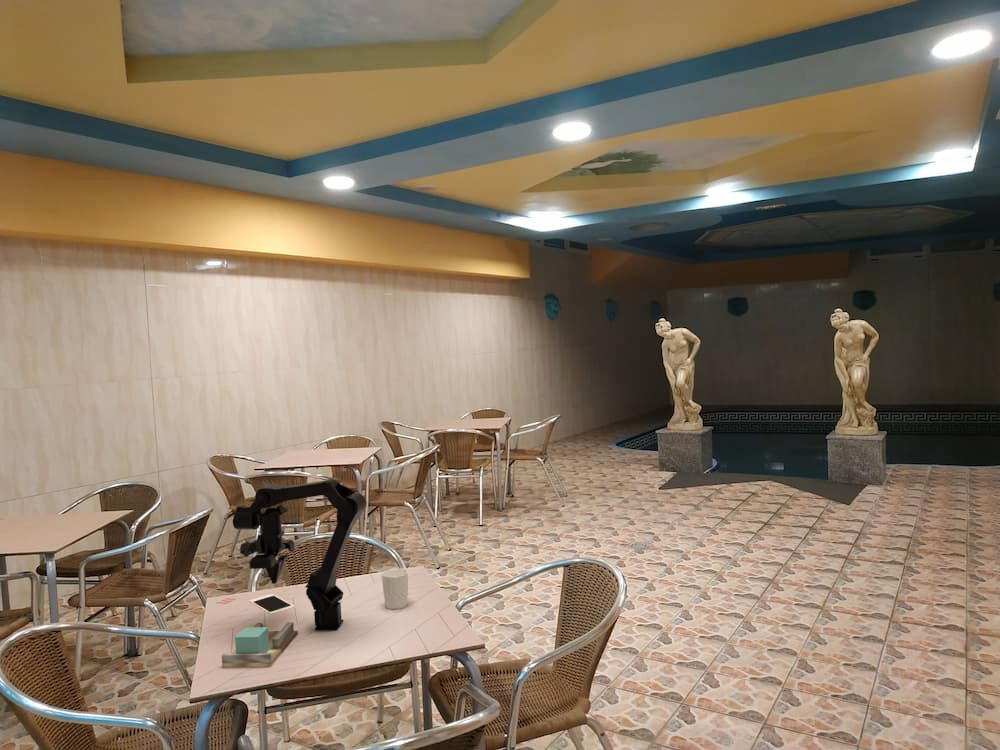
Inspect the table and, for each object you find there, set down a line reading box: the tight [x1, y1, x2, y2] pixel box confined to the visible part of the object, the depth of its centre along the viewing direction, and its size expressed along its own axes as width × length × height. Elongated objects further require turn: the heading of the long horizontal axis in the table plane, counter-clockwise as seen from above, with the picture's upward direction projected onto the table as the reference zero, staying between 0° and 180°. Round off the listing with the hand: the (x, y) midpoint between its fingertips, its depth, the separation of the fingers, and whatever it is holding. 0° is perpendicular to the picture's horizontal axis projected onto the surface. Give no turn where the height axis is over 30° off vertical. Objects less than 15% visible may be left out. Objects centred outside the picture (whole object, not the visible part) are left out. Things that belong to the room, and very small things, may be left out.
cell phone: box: [249, 593, 296, 615], centre depth 217 cm, size 8×16×1 cm, turn 43°
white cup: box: [381, 567, 409, 610], centre depth 211 cm, size 8×8×10 cm
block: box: [234, 626, 269, 654], centre depth 178 cm, size 6×6×6 cm
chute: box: [221, 621, 299, 668], centre depth 183 cm, size 12×19×3 cm, turn 176°
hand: (274, 583), depth 199 cm, fingers closed
